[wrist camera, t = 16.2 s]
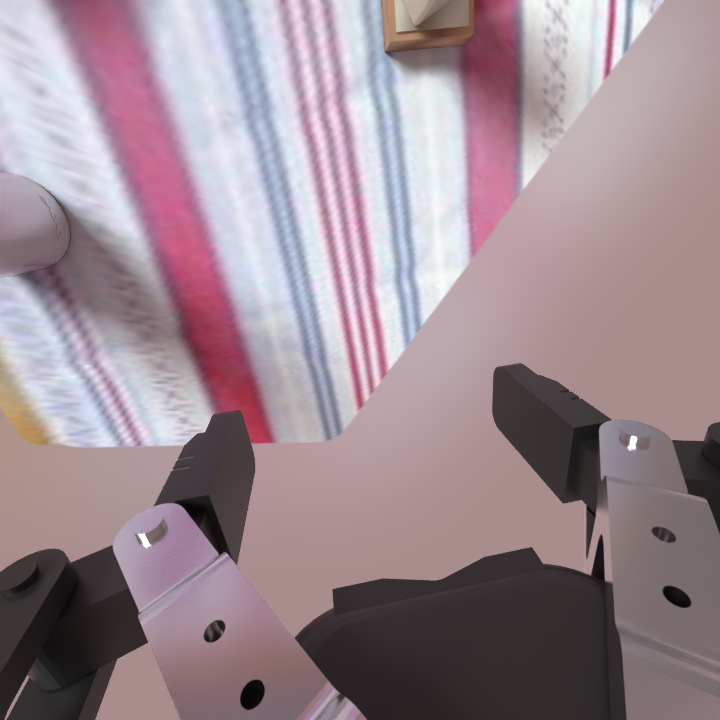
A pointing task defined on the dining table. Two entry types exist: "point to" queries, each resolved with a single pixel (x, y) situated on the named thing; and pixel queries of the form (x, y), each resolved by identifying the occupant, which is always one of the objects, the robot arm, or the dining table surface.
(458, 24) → the wooden framed mirror
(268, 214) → the dining table surface
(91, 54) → the dining table surface
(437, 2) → the skincare box
